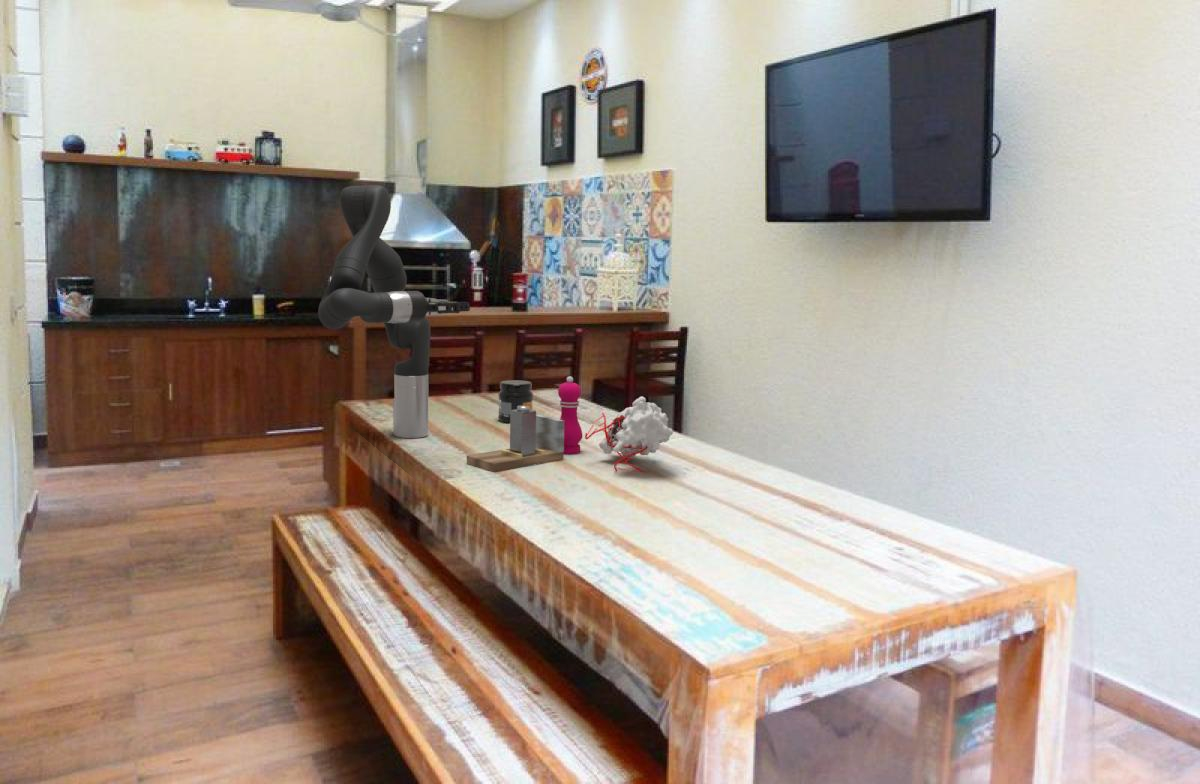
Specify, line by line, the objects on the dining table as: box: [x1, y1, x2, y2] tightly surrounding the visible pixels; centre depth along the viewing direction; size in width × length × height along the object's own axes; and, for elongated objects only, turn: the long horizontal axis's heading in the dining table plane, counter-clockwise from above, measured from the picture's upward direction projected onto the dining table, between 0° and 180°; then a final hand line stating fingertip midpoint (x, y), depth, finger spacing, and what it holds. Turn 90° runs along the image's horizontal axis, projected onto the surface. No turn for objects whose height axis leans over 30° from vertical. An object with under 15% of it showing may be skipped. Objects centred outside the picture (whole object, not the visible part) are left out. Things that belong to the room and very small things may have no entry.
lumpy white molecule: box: [584, 396, 674, 473], centre depth 229 cm, size 20×18×25 cm
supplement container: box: [497, 379, 534, 424], centre depth 286 cm, size 10×10×12 cm
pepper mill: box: [557, 376, 583, 455], centre depth 244 cm, size 7×7×20 cm
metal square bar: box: [509, 406, 537, 457], centre depth 231 cm, size 4×4×12 cm
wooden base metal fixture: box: [466, 413, 565, 473], centre depth 232 cm, size 11×22×10 cm, turn 134°
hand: (458, 305), depth 233 cm, fingers open, 8 cm apart
